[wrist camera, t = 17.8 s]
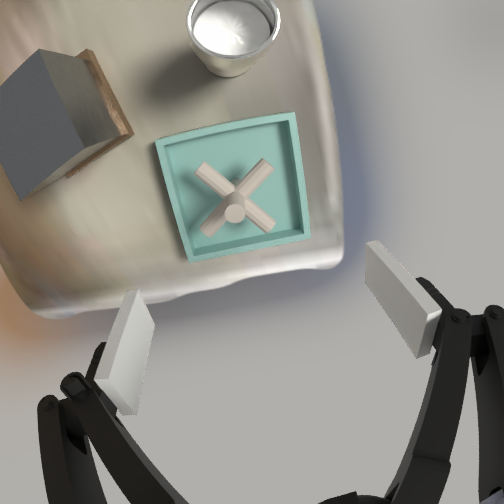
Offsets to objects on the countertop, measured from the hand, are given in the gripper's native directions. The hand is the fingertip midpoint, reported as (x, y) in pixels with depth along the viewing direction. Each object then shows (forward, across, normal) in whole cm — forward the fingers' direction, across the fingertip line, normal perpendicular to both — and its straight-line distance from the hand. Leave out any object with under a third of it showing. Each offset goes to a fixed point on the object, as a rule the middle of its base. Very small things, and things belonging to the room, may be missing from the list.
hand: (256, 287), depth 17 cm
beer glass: (+23, +2, +16) cm, 28 cm away
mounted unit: (+23, -17, +14) cm, 32 cm away
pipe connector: (+22, 0, 0) cm, 22 cm away
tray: (+23, 0, 0) cm, 23 cm away
